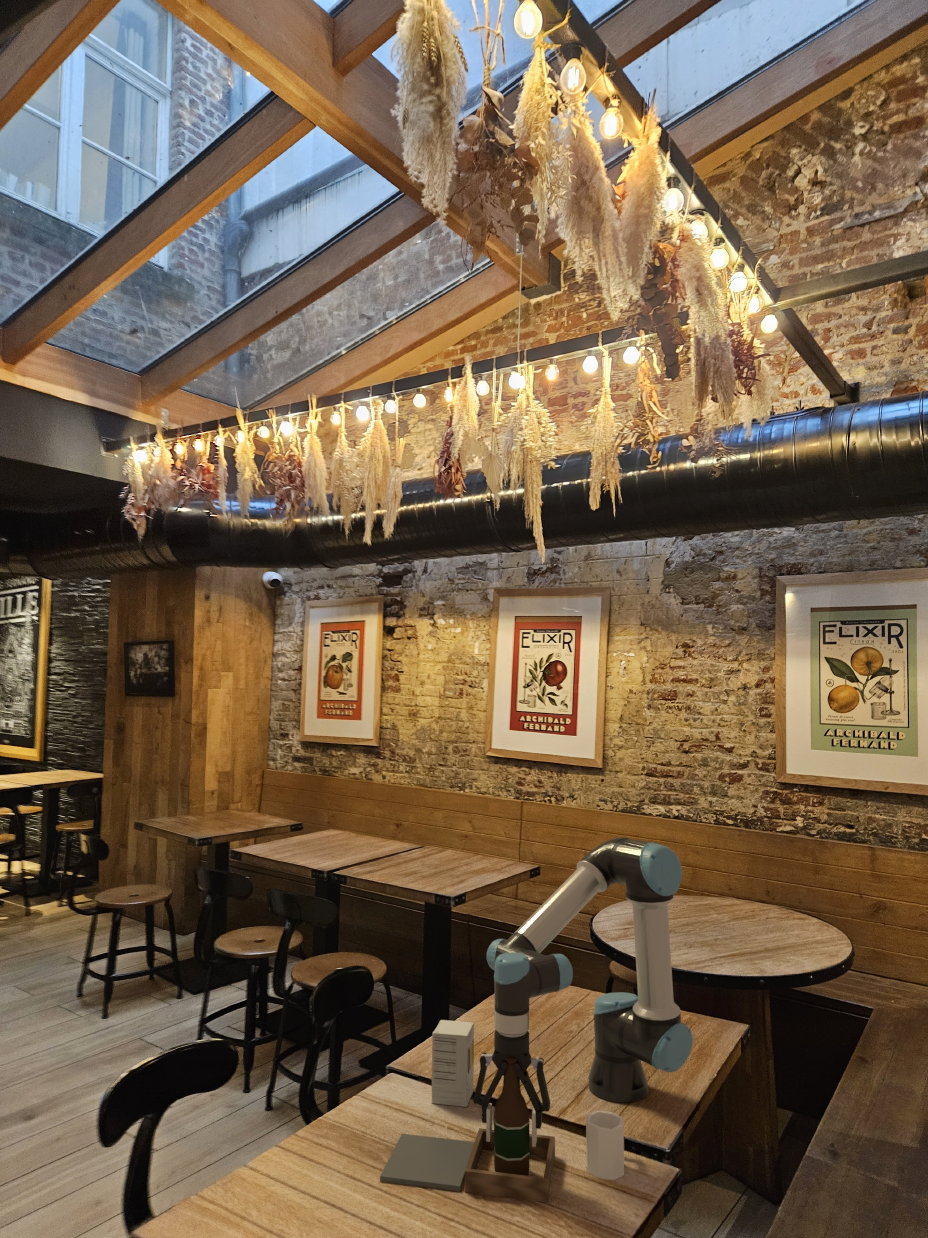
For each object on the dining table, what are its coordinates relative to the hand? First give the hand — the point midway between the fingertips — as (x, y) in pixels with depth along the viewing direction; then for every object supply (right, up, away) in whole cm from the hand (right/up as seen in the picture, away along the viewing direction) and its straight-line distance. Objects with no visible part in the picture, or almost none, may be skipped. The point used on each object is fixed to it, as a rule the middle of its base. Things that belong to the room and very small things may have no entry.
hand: (511, 1141), depth 171 cm
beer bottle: (0, -7, -1) cm, 7 cm away
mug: (+21, -7, +3) cm, 23 cm away
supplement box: (-13, -10, +32) cm, 36 cm away
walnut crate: (0, -6, -1) cm, 6 cm away
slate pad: (-18, -7, +3) cm, 19 cm away
